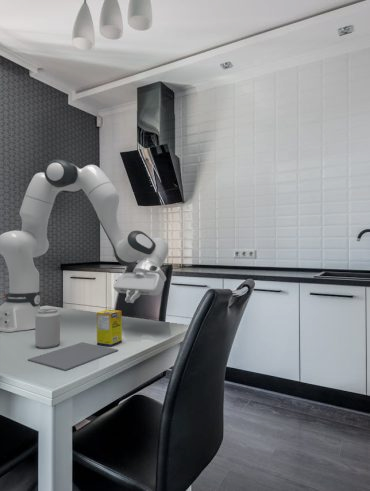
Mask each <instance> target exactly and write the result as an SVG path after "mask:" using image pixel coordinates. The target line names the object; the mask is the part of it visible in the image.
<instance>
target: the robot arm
mask: <svg viewBox="0 0 370 491" xmlns="http://www.w3.org/2000/svg"><path fill="white" fill-rule="evenodd" d="M60 192H62V193H71V194H72V193H73V194H74V193H80V192H84V194H85V196H86V197H87V198H88V200H89V202H90V203H91V205H92V207H93V209H94V210H95V212H96V215H97V218H98V220H99V223H100V225H101V227H102V229H103V231H104V233H105V235H106V236H107V239H108V240H109V242H110V244H111V247H112V249H113V250H112V251H113V255H114V257H115V259H116V261H117V262H118V263H119V264H120V265H122V266H126V267H132V266H134V265H135V266H134V268H133V270H132V271H126V272H124V273H122V274H120V276H119V277H118V278H117V279H116V281H115V282H114V284H113V289H114V290H115V291H116V293H118V294H119V293H120V294H125V295H126V297H125V299H124V301H125V303H127V304H128V303H130V304H134V303H135V301H136V300H137V299H138V298H139V297H140V296H141V295H143V296H158V295H160V294H161V292H162V290H163V289H164V285H165V282H166V281H167V276H166V274H165V273H164V271H163V270H162V269H161V267H162V266H163V264H164V263H165V260H166V259H167V256H168V253H169V245H168V243H167V241H165V239H163V238H161V237H157V236H156V237H152V236H150V235H148V234H146V233H145V232H143V231H141V230H132V231H131V232H130V233H129V234H128V235H127V236H126V237H125V235H124V233H123V231H122V229H121V228H120V226H119V224H118V223H119V222H118V220H117V213H118V212H117V211H118V208H119V203H120V195H119V193H118V190H117V189H116V187H115V185H114V184H113V183H112V181H111V179H110V178H109V177H108V176H107V174H105V172H104V171H103V169H101V168H100V167H99V166H97V165H95V164H87V165H85V166H83V167H82V168H80V167H78V166H77V165H75V164H73V163H70V162H69V161H66V160H64V159H53V160H50V161H49V162H48V163H47V164H45V168H44V172H37V173H35V174H34V176H33V177H32V178H31V180H30V182H29V184H28V187H27V188H26V190H25V193H24V197H23V200H22V203H21V206H20V209H19V216H20V218H21V230H10V231H6V232H3V233H1V234H0V255H1V256H2V257H3V259H4V261H5V264H6V267H7V270H8V279H9V280H8V283H9V284H8V285H9V286H8V287H9V288H8V289H9V290H8V291H9V292H8V293H7V294H2V295H3V297H2V298H3V299H4V298H5V300H4V302H3V303H2V304H1V305H0V332H4V333H5V332H6V333H14V332H18V331H27V330H35V315H36V314H37V313H38V310H40V309H41V305H40V304H41V291H40V272H39V270H38V269H37V268H36V266H35V263H34V258H37V257H40V256H43V255H45V254H46V253H47V251H48V250H49V247H50V243H49V240H48V236H47V235H48V223H49V220H50V217H51V216H50V215H51V212H52V210H53V206H54V204H55V200H56V197H57V195H58V194H59V193H60Z"/></svg>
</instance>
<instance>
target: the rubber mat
mask: <svg viewBox="0 0 370 491" xmlns="http://www.w3.org/2000/svg"><path fill="white" fill-rule="evenodd" d="M118 351H119V349H117V348H112V347H109V346H103V345H97V344H93V343H87V342H84V341H82V342H79V343H76V344H72V345H69V346H66V347H63V348H60V349H59V348H58V349H56V350H53V351H50V352H46V353H43V354H40V355H36V356H34V357H30V358H28V359H27V361H29V362H31V363H35V364H39V365H42V366H47V367H49V368H53V369H57V370H60V371H65V372H67V371H70V370H72V369H75V368H77V367H79V366H82V365H86V364H87V363H91V362H93V361H95V360H97V359H101V358H103V357H106V356H109V355H111V354H114V353H117V352H118Z"/></svg>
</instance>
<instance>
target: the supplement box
mask: <svg viewBox="0 0 370 491" xmlns="http://www.w3.org/2000/svg"><path fill="white" fill-rule="evenodd" d="M122 313H123V312H122V310H117V309H104V310H99V311H97V312H96V345H98V346H103V347H109V348H112V347H114V346H117V345H119V344H121V343H122V341H123V338H122V336H123V334H122V331H123V330H122V329H123V328H122V327H123V326H122V325H123V324H122V323H123V322H122V319H123V318H122V317H123V316H122Z"/></svg>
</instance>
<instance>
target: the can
mask: <svg viewBox="0 0 370 491" xmlns="http://www.w3.org/2000/svg"><path fill="white" fill-rule="evenodd" d="M34 330H35V332H34V333H35V342H34V343H35V344H34V345H35V346H36V347H38V349H51V348H52V349H53V348H54V347H57V346H58V345H59V344H60V342H61V313H60V311H59V309H58V308H57V307H48V308H47V307H46V308H45V307H44V308H40V310H38V313H37V314H36V315H35V328H34Z"/></svg>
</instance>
